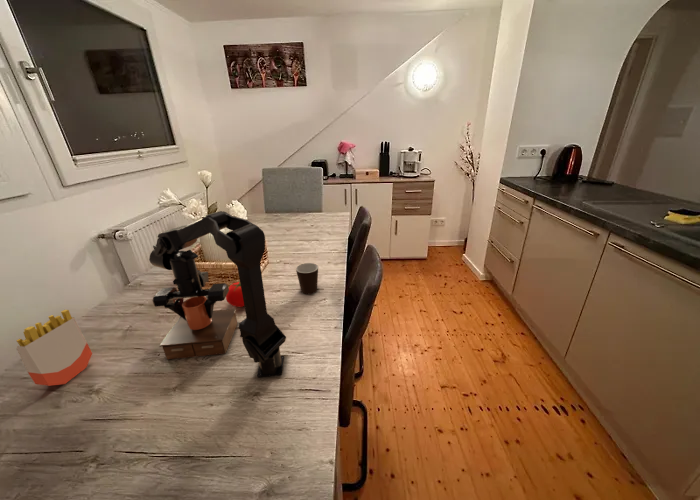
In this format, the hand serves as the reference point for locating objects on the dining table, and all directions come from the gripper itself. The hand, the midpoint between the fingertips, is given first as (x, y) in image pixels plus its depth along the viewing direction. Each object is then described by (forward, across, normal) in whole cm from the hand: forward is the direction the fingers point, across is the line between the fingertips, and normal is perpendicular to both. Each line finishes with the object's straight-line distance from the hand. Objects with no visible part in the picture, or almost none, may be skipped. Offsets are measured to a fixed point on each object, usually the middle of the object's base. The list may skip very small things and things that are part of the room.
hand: (199, 318), depth 83 cm
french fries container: (+8, +32, +9) cm, 34 cm away
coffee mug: (+8, -32, -26) cm, 42 cm away
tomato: (+8, -7, -19) cm, 22 cm away
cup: (+2, 0, 0) cm, 2 cm away
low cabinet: (+8, 0, 0) cm, 8 cm away
